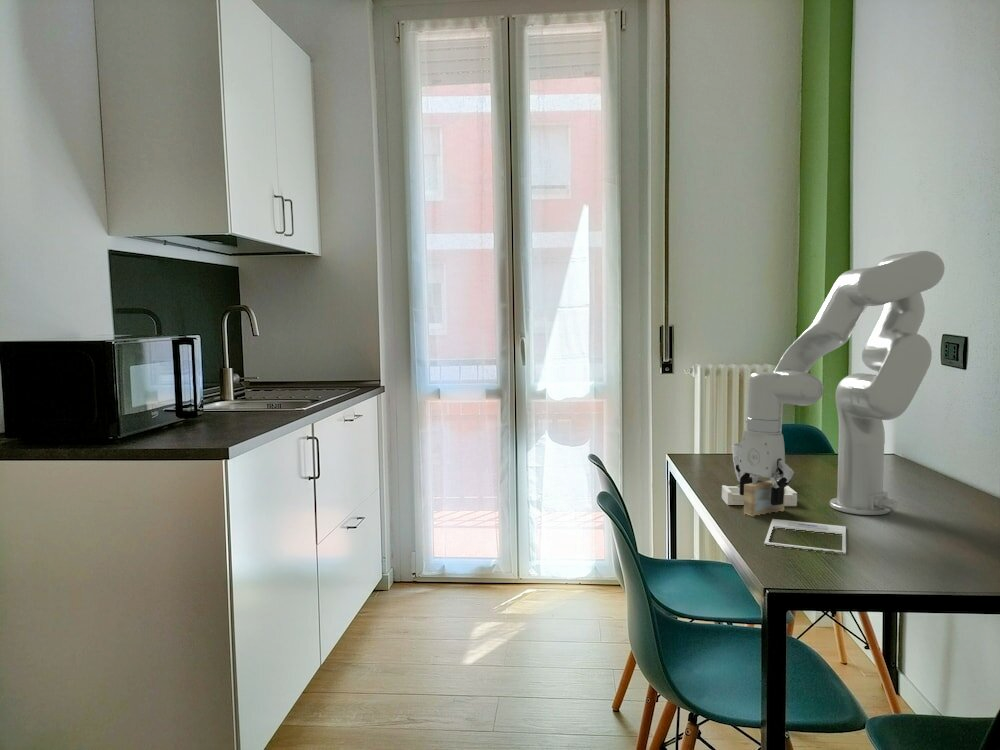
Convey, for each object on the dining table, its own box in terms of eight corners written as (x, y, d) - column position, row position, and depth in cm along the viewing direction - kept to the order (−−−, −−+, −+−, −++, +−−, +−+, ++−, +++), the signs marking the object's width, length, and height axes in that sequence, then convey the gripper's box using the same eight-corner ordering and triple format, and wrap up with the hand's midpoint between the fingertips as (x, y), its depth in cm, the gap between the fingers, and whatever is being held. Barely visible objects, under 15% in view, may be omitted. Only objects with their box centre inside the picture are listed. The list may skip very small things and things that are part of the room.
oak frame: (776, 508, 167) (776, 479, 167) (784, 511, 165) (785, 481, 164) (743, 514, 163) (744, 484, 163) (751, 517, 161) (752, 486, 160)
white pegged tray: (788, 498, 176) (788, 485, 175) (796, 506, 169) (797, 492, 168) (721, 498, 177) (721, 484, 177) (727, 505, 170) (727, 491, 170)
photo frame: (845, 525, 151) (845, 551, 135) (845, 530, 151) (845, 557, 135) (772, 518, 157) (764, 541, 141) (772, 522, 157) (764, 547, 141)
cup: (758, 477, 198) (759, 442, 197) (766, 484, 190) (767, 447, 189) (729, 477, 199) (729, 442, 198) (735, 484, 191) (736, 447, 190)
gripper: (724, 421, 169) (722, 492, 170) (781, 432, 153) (777, 510, 154) (749, 420, 172) (746, 489, 173) (806, 430, 156) (802, 507, 158)
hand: (760, 499), depth 164 cm, fingers open, 9 cm apart
